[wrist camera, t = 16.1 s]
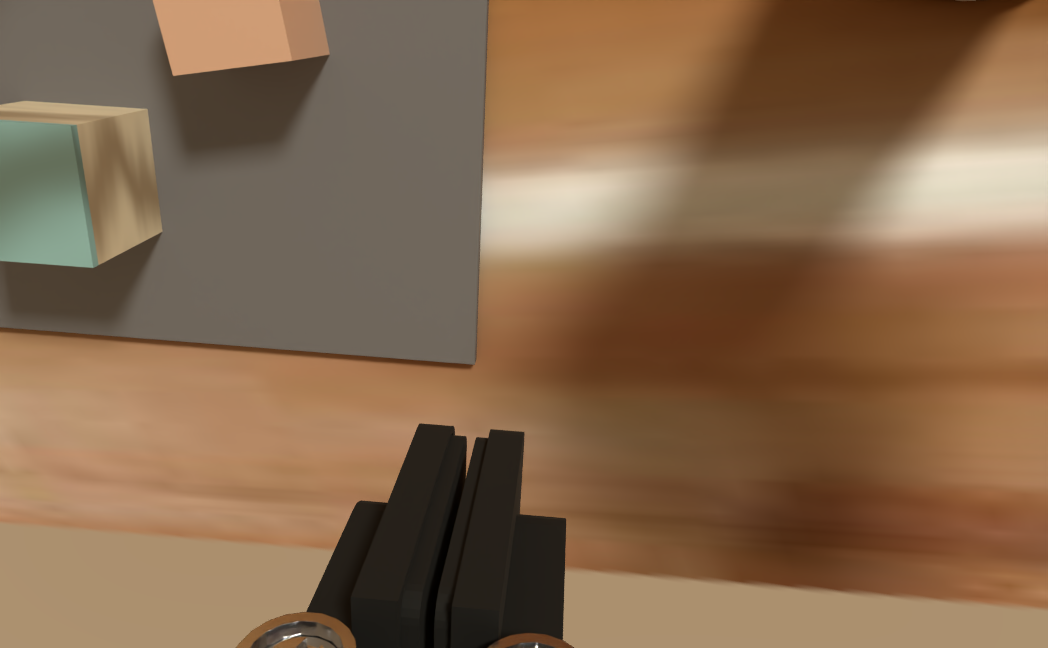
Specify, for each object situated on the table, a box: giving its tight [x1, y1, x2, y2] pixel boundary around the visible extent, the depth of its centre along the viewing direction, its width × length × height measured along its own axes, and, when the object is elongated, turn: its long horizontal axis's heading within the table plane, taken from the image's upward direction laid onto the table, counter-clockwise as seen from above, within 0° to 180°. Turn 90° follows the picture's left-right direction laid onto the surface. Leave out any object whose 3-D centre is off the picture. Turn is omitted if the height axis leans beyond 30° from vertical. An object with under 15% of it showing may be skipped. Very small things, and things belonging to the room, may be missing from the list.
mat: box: [0, 0, 489, 365], centre depth 38 cm, size 18×28×1 cm, turn 87°
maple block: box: [0, 101, 162, 268], centre depth 35 cm, size 6×6×6 cm
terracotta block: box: [153, 0, 330, 76], centre depth 33 cm, size 5×5×5 cm
